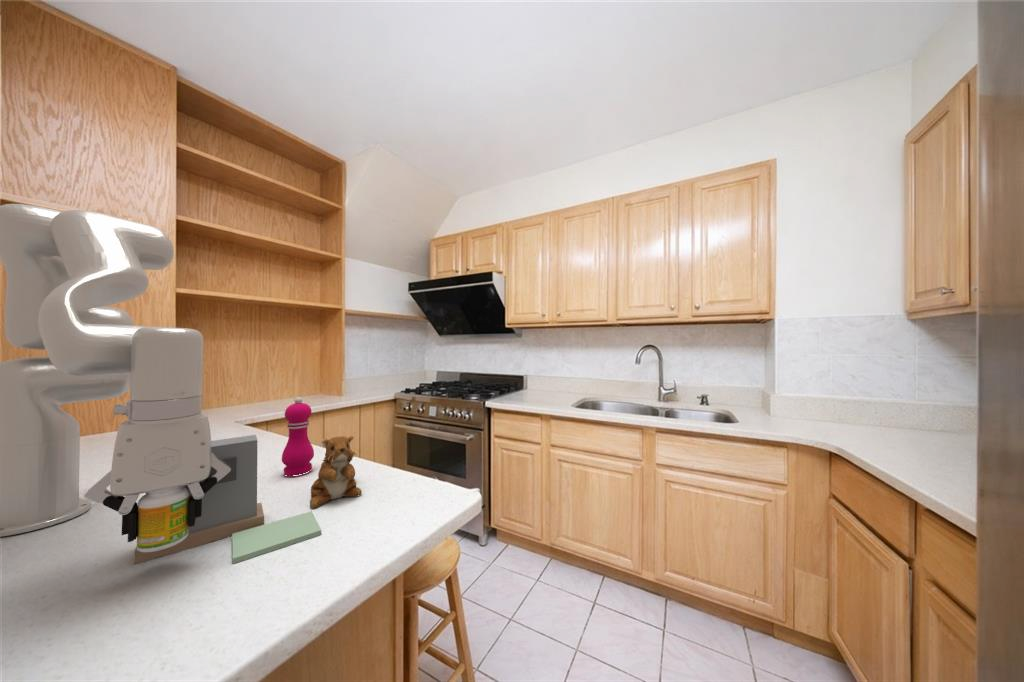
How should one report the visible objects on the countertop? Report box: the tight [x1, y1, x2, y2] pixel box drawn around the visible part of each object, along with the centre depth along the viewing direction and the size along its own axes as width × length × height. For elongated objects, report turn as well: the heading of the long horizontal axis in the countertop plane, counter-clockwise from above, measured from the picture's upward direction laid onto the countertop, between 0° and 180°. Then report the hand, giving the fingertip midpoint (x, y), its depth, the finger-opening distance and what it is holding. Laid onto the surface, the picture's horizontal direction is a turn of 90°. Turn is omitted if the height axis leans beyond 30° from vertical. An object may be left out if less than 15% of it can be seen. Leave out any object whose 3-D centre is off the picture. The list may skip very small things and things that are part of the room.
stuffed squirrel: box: [309, 435, 363, 509], centre depth 76 cm, size 10×14×13 cm
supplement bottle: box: [136, 486, 190, 552], centre depth 50 cm, size 5×5×10 cm
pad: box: [231, 510, 322, 565], centre depth 58 cm, size 12×9×1 cm
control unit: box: [133, 434, 265, 565], centre depth 59 cm, size 16×7×16 cm, turn 131°
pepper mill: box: [281, 396, 315, 476], centre depth 88 cm, size 7×7×20 cm
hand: (164, 528), depth 50 cm, fingers closed on supplement bottle, 5 cm apart
